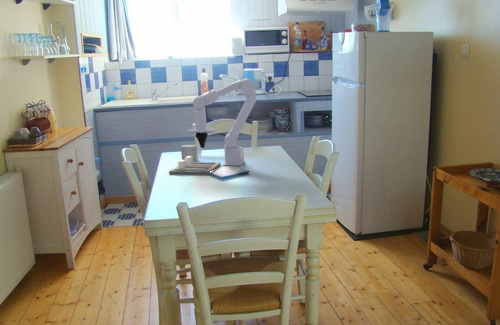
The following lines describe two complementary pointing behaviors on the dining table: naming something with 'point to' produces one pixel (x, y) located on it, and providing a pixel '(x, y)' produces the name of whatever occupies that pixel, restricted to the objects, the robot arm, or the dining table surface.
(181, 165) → the block
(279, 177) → the dining table surface
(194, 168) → the breaker panel
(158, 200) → the dining table surface
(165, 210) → the dining table surface
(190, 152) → the medicine box
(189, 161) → the block
